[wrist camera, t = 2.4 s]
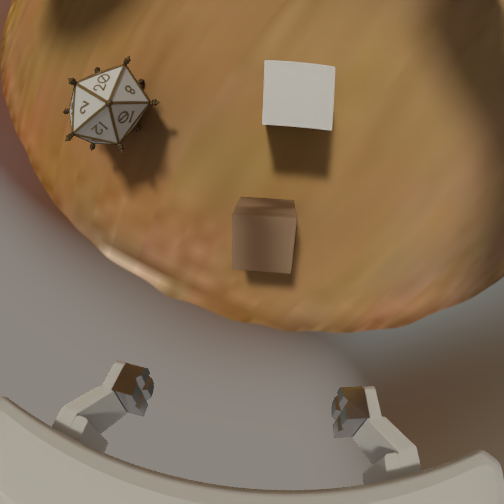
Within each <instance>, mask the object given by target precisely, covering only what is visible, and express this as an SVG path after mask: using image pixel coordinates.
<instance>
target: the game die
mask: <svg viewBox="0 0 504 504" xmlns="http://www.w3.org/2000/svg"><path fill="white" fill-rule="evenodd" d="M129 61H131V60H130V56H128V57H127V58H125V60H124V61H123V62H124V63H123V65H119V66H116V67H113V68H110V69H106V70H103V71H100V68H98V67H96V68H95V70H94V71H95V74H93V75H91V76H88V77H86V78H84V79H82V80H80V81H78V82H76V80H75V79H74V78H68V80H69V84H71V85H74V89H73V93H72V98H71V103H70V109H68V108H67V109H65V110H64V111H63V113H64V114H68V113H69V114H70V123H71V131H72V133H70V134H68V135H67V136H66V140H65V141H70V139H72V137H73V136H77V137H79V138H81V139H84V140H86V141H88V142H90V143H92V144H91V145H90V148H91V151H92V150H93V149H95V144H111V145H117V148H118V151H120V152H121V153H122V152H123V149H124V148H123V145H121V142H122V141H123V140H124V139H125V138H126V137H127V135H128V134H129V133H130V132H131V131H132V130H133V128H134V129H135V130H136V131H137V130H140V126H139V125H137V123H138V121H139V120H140V118H141V117H142V115H143V114H144V112H145V111H146V109H147V108H148V106H149V105H155V106H156V105H157V104H158V103H160V102H159V101H157V100H152V101H150V100H149V98H148V97H147V95H146V94H145V92H144V91H143V89H142V88H141V86H140V85H141V84H143V82H144V80H142V79H140V80H139V81H138V82H137V80H136V79H135V77H134V76H133V74H132V73H131V71H130V70H129V68H128V67H127V64H128V63H129Z"/></svg>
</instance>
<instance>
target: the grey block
mask: <svg viewBox="0 0 504 504" xmlns="http://www.w3.org/2000/svg"><path fill="white" fill-rule="evenodd" d="M334 87H335V67H333V66H327V65H319V64H311V63H302V62H291V61H275V60H265V66H264V92H263V117H262V125H278V126H292V127H303V128H313V129H322V130H330V131H332V123H333V107H334Z"/></svg>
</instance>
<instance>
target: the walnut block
mask: <svg viewBox="0 0 504 504" xmlns="http://www.w3.org/2000/svg"><path fill="white" fill-rule="evenodd" d="M296 222H297V216H296V210H295V204H294V200H283V199H268V198H252V197H241V198H240V200H239V202H238V204H237V206H236V208H235V210H234V212H233V214H232V269H235V270H247V271H260V272H274V273H288V274H291V267H292V259H293V250H294V241H295V232H296Z"/></svg>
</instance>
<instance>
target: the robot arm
mask: <svg viewBox="0 0 504 504" xmlns="http://www.w3.org/2000/svg"><path fill="white" fill-rule="evenodd" d="M149 374H150V372H149V370H148V368H144V367H140V366H136V365H132V364H129V363H125V362H121V361H116V362H115V363H114V365H113V366H112V368H111V370H110V372H109V374H108V375H107V377H106V379H105V381H104V383H103V384H102V386H98V387H96V388H94V389H92V390H91V391H89V392H87V393H86V394H84V395H82V396H81V397H79V398H77V399H75V400H74V401H72V402H70V403H68V404H66V405H65V406H63V407H62V409H61V411H60V412H59V414H58V416H57V418H56V420H55V422H54V424H53V425H52V427H51V426H49V425H47V424H46V423H44V422H43V421H41V420H39V419H38V418H36V417H34V416H33V415H31V414H30V413H28V412H27V411H25V410H24V409H22V408H21V407H19V406H18V405H17V404H15V403H14V402H13V401H11V400H10V399H9V398H7V397H0V504H504V479H503V473H502V469H501V466H500V463H499V462H498V461H497V460H496V459H495V458H494V457H492V456H491V455H489V454H488V453H487V452H485V451H483V450H477V451H475V452H472V453H470V454H468V455H465V456H463V457H461V458H458V459H456V460H453V461H450V462H448V463H445V464H442V465H440V466H437V467H434V468H431V469H428V470H425V471H421V467H420V462H419V457H418V453H417V448H416V446H415V445H414V444H413V443H412V442H410V440H408V439H407V438H406V437H405V436H404V435H403V434H402V433H401V432H400V431H399V430H398V429H397V428H396V427H395V426H394V425H393V424H392V423H391V422H390V421H389V420H388V419H387V418H386V417H382V415H381V411H380V407H379V402H378V398H377V394H376V390H375V387H374V386H366V387H365V386H364V387H362V386H360V387H342V388H340V389H339V390H338V392H337V393H338V396H336V397H335V398H334V400H333V404H332V417H333V418H334V419H335V420H336V421H335V423H334V424H333V431H334V438H339V437H352V438H353V440H354V441H355V442H356V443H357V445H358V446H359V447H360V449H361V450H362V451H363V453H364V454H365V455H366V457H367V458H368V459H369V460H370V462H371V463H372V464H373V466H371V467H370V468H368V469H367V470H366V471H365V472H364V473H363V483H364V485H358V486H351V487H342V488H332V489H320V490H261V489H248V488H247V489H246V488H237V487H229V486H222V485H215V484H209V483H203V482H198V481H193V480H188V479H184V478H179V477H175V476H171V475H167V474H164V473H160V472H156V471H153V470H150V469H146V468H143V467H140V466H137V465H134V464H131V463H128V462H126V461H123V460H120V459H118V458H115V457H113V456H110V455H108V454H105V453H104V452H105V450H106V447H107V445H108V442H107V440H106V439H105V438H104V437H102V435H101V433H102V432H104V431H105V430H106V429H108V427H110V426H111V425H113V424H114V423H115V422H116V421H118V420H119V419H120V418H121V417H123V416H124V415H125V414H126V413H127V412H129V413H133V414H136V415H140V416H144V414H145V411H146V409H147V406H148V404H147V401H146V400H148V399H149V398H151V396H152V394H153V389H154V383H153V380H152V378H150V376H149Z"/></svg>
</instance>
